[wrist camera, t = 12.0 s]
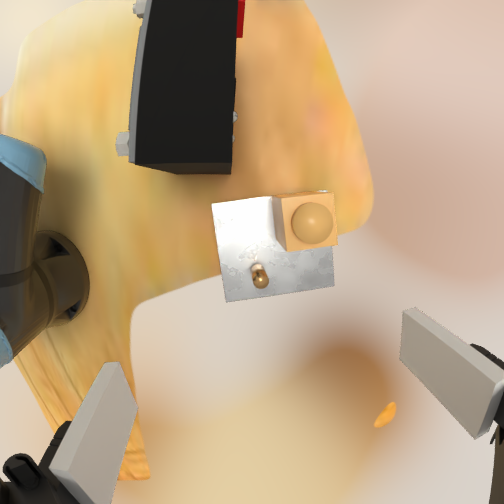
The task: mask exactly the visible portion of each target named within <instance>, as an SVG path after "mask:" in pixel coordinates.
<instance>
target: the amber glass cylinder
mask: <svg viewBox="0 0 504 504" xmlns="http://www.w3.org/2000/svg"><path fill="white" fill-rule="evenodd" d="M250 272H251V276H252V280H253V284H254V286H255V287H256V288H258V289H264V288H266V287H267V286H268V284H269V278H268V276H267V274H266V271H265V269H264V267H263V266H262V265H261V264H255V265H253V266H252V267H251V270H250Z"/></svg>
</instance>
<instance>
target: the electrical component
mask: <svg viewBox="0 0 504 504" xmlns="http://www.w3.org/2000/svg"><path fill="white" fill-rule="evenodd" d="M244 10H245V0H137V1H136V4H133V13H134V14H137V17H139V18H143V22H142V26H141V27H140V31H139V37H138V44H137V50H136V57H135V65H134V73H133V82H132V91H131V102H130V114H129V129H128V130H130V132H120V133H118V136H117V139H116V150H117V153H118V156H127V155H129V162H130V163H135V165H139V166H143V167H148V168H152V169H157V170H161V171H165V172H170V173H174V174H231V167H232V145H233V142H234V140H235V139H234V138H235V137H234V136H233V123H234V122H235V121H236V120H237V113H236V112H234V102H235V89H236V78H235V59H236V38H242V37H243V23H244Z"/></svg>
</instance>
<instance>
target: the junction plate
mask: <svg viewBox="0 0 504 504" xmlns="http://www.w3.org/2000/svg"><path fill="white" fill-rule="evenodd" d="M318 192H327V190H322V191H318ZM211 205H212V212H213V219H214V226H215V233H216V240H217V247H218V253H219V260H220V267H221V273H222V280H223V286H224V292H225V298H226V302H232V301H239V300H247V299H254V298H261V297H268V296H274V295H280V294H287V293H294V292H301V291H307V290H313V289H319V288H325V287H331V286H334V270H333V253H332V246H327V247H320V248H313V249H306V250H299V251H292V252H286V251H285V249H284V248H283V247H282V246H281V245H280V244H279V243H278V241H277V240H276V236H275V228H274V219H273V211H272V202H271V196H267V197H259V198H251V199H243V200H235V201H228V202H221V203H213V204H211ZM255 264H261V265H262V266H263V267H264V269H265V271H266V274H267V276H268V278H269V284H268V286H267V287H266V288H264V289H258V288H256V287H255V286H254V284H253V280H252V276H251V272H250V270H251V267H252V266H253V265H255Z"/></svg>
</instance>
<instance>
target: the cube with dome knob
mask: <svg viewBox="0 0 504 504" xmlns="http://www.w3.org/2000/svg"><path fill="white" fill-rule="evenodd" d="M271 202H272V211H273V219H274V228H275V236H276V240H277V241H278V243H279V244H280V245H281V246H282V247H283V248H284V249H285V251H286V252H292V251H299V250H306V249H313V248H320V247H327V246H334V245H338V241H337V227H336V215H335V205H334V194H333V193H332V192H318V191H311V192H301V193H292V194H284V195H275V196H271Z"/></svg>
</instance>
